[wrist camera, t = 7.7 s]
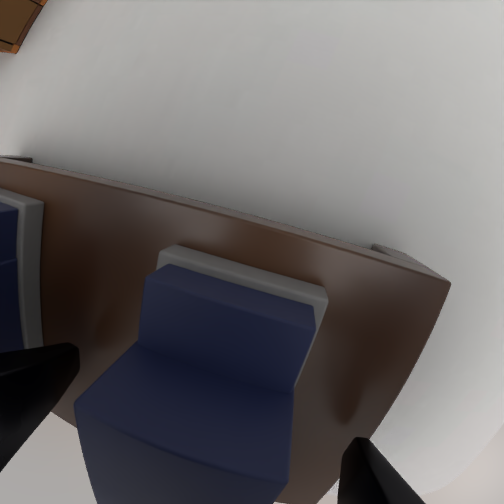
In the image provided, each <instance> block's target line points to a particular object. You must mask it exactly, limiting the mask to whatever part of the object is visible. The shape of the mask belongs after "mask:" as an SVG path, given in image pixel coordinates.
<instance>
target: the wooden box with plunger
mask: <svg viewBox="0 0 504 504" xmlns="http://www.w3.org/2000/svg"><path fill="white" fill-rule="evenodd" d="M46 1H47V0H0V52H7V53H15V54H16V53H17V51H18V49H19V47H20V45H21V43H22V41H23V40H24V38H25V36H26V34H27V32H28V30H29V29H30V27H31V25H32V24H33V22H34V20H35V19H36V17H37V15H38V14H39V12H40V10H41V9H42V7H41V6H44V4H45V3H46Z"/></svg>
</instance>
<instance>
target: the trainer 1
mask: <svg viewBox="0 0 504 504" xmlns="http://www.w3.org/2000/svg"><path fill="white" fill-rule="evenodd" d="M43 212H44V202H43V201H40V200H37V199H34V198H30V197H27V196H24V195H21V194H18V193H15V192H12V191H9V190H5V189H2V188H0V353H2V352H9V351H16V350H23V349H30V348H36V347H42V346H44V344H43V334H42V321H41V302H40V254H41V235H42V223H43Z"/></svg>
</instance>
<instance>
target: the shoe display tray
mask: <svg viewBox="0 0 504 504" xmlns="http://www.w3.org/2000/svg"><path fill="white" fill-rule="evenodd" d="M31 162H32V158H29V157H23V156H12V155H0V188H2V189H5V190H9V191H12V192H15V193H18V194H21V195H24V196H27V197H30V198H34V199H37V200H40V201H43V202H44V212H43V223H42V235H41V254H40V302H41V321H42V334H43V344H44V346H48V345H54V344H60V343H66V342H69V343H72V344H73V345H75V346H77V347H78V348H79V351H80V371H79V373H78V374H77V376H76V377H75V379H74V380H73V382H72V383H71V384H70V386H69V387H68V389H67V390H66V392H65V393H64V395H63V396H62V398H61V399H60V401H59V402H58V403H57V405H56V406H55V407H54V408H53V409H52V410H51V412H53V413H54V414H56V415H57V416H59V417H60V418H62V419H63V420H65V421H66V422H68V423H70V424H71V425H73V426H74V427H76V428H77V425H76V419H75V414H74V407H73V405H74V402H75V400H76V399H77V398H78V397H79V396H80V395H81V394H82V393H83V392H84V391H86V390H87V389H88V388H89V387H90V386H91V385H92V384H93V383H94V382H95V381H96V380H97V379H98V378H99V377H100V376H101V375H102V374H103V373H104V372H105V371H106V370H107V369H108V368H109V367H110V366H111V365H112V364H113V363H114V362H115V361H116V360H117V359H118V358H119V357H120V356H121V355H123V354H124V353H125V352H126V351H127V350H128V349H129V348H130V347H131V346H132V345H133V344H134V343H135V342H136V341H137V340H138V331H139V322H140V312H141V304H142V296H143V288H144V281H145V277H146V276H147V275H149V274H151V273H153V272H154V271H156V268H157V262H158V256H159V252H160V251H161V250H163V249H165V248H168V247H170V246H172V245H175V244H177V245H180V246H183V247H187V248H190V249H193V250H197V251H200V252H204V253H207V254H210V255H214V256H217V257H221V258H224V259H227V260H231V261H234V262H238V263H241V264H245V265H248V266H252V267H255V268H259V269H262V270H266V271H269V272H273V273H276V274H280V275H283V276H287V277H290V278H294V279H297V280H301V281H304V282H308V283H312V284H315V285H319V286H322V287H324V288H325V290H326V293H327V297H328V302H329V303H328V305H327V308H326V311H325V314H324V316H323V319H322V322H321V324H320V327H319V330H318V332H317V335H316V338H315V340H314V343H313V345H312V348H311V350H310V353H309V355H308V358H307V360H306V363H305V365H304V367H303V370H302V372H301V375H300V377H299V379H298V382H297V384H296V386H295V389H294V409H293V428H292V444H291V459H290V473H289V482H288V484H287V485H286V486H285V488H284V489H283V490H282V492H281V493H280V495H279V496H278V497H277V499H276V500H275V501H274V502H279V503H286V504H317V503H318V501H319V500H320V499H321V498H322V497H323V496H324V495H325V494H326V493H327V492H328V491H329V489H330V488H331V487H332V486H333V485H334V484H335V483H336V481H337V480H338V479H339V478H340V471H341V460H342V456H343V453H344V452H345V450H346V449H347V447H348V446H349V444H350V443H351V442H352V440H353V439H354V438H355V437H364V438H368V439H370V438H371V436H372V435H373V433H374V432H375V430H376V429H377V427H378V426H379V425H380V423H381V422H382V420H383V419H384V417H385V415H386V414H387V412H388V411H389V409H390V408H391V406H392V404H393V403H394V401H395V400H396V398H397V396H398V395H399V393H400V391H401V389H402V388H403V386H404V384H405V383H406V381H407V379H408V377H409V375H410V374H411V372H412V370H413V368H414V366H415V364H416V362H417V360H418V359H419V357H420V355H421V353H422V351H423V349H424V347H425V345H426V342H427V340H428V338H429V336H430V334H431V332H432V330H433V327H434V325H435V323H436V321H437V318H438V316H439V314H440V311H441V309H442V307H443V304H444V302H445V299H446V297H447V294H448V292H449V289H450V286H451V282H450V281H448V280H447V279H445V278H444V277H442V276H441V275H439V274H437V273H436V272H434V271H433V270H431V269H429V268H428V267H426V266H425V265H423V264H422V263H420V262H418V261H417V260H415V259H413V258H412V257H410V256H409V255H407V254H405V253H402V252H399V251H396V250H393V249H390V248H387V247H384V246H381V245H378V244H374V245H373V247H372V250H369V249H366V248H363V247H360V246H357V245H353V244H350V243H347V242H343V241H340V240H337V239H334V238H330V237H327V236H323V235H320V234H317V233H313V232H310V231H306V230H303V229H299V228H296V227H293V226H289V225H285V224H282V223H278V222H275V221H271V220H268V219H264V218H260V217H257V216H253V215H250V214H246V213H242V212H238V211H235V210H231V209H227V208H223V207H220V206H216V205H212V204H208V203H204V202H200V201H196V200H192V199H189V198H185V197H181V196H177V195H173V194H168V193H164V192H160V191H156V190H152V189H148V188H144V187H139V186H135V185H131V184H127V183H122V182H118V181H113V180H109V179H105V178H100V177H96V176H91V175H86V174H82V173H77V172H72V171H68V170H63V169H58V168H53V167H48V166H43V165H38V164H33V163H31Z"/></svg>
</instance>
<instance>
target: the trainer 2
mask: <svg viewBox="0 0 504 504" xmlns="http://www.w3.org/2000/svg"><path fill="white" fill-rule="evenodd" d="M328 303H329V302H328V297H327V293H326V290H325V288H324V287H322V286H319V285H315V284H312V283H308V282H304V281H301V280H297V279H294V278H290V277H287V276H283V275H280V274H276V273H273V272H269V271H266V270H262V269H259V268H255V267H252V266H248V265H245V264H241V263H238V262H234V261H231V260H227V259H224V258H221V257H217V256H214V255H210V254H207V253H204V252H200V251H197V250H193V249H190V248H187V247H183V246H180V245H177V244H175V245H172V246H170V247H168V248H165V249H163V250H161V251H160V252H159V256H158V262H157V268H156V271H154V272H153V273H151V274H149V275H147V276H146V277H145V281H144V288H143V296H142V304H141V312H140V322H139V331H138V340H137V341H136V342H135V343H134V344H133V345H132V346H131V347H130V348H129V349H128V350H127V351H126V352H125V353H124V354H123V355H121V356H120V357H119V358H118V359H117V360H116V361H115V362H114V363H113V364H112V365H111V366H110V367H109V368H108V369H107V370H106V371H105V372H104V373H103V374H102V375H101V376H100V377H99V378H98V379H97V380H96V381H95V382H94V383H93V384H92V385H91V386H90V387H89V388H88V389H87V390H86V391H84V392H83V393H82V394H81V395H80V396H79V397H78V398H77V399H76V400H75V402H74V405H73V407H74V414H75V419H76V425H77V430H78V434H79V439H80V444H81V448H82V453H83V457H84V460H85V464H86V468H87V472H88V476H89V479H90V482H91V486H92V489H93V492H94V495H95V498H96V501H97V504H273V503H274V501H275V500H276V499H277V497H278V496H279V495H280V493H281V492H282V490H283V489H284V488H285V486H286V485H287V484H288V482H289V473H290V459H291V444H292V428H293V409H294V389H295V386H296V384H297V382H298V379H299V377H300V375H301V372H302V370H303V367H304V365H305V363H306V360H307V358H308V355H309V353H310V350H311V348H312V345H313V343H314V340H315V338H316V335H317V332H318V330H319V327H320V324H321V322H322V319H323V316H324V314H325V311H326V308H327V305H328Z"/></svg>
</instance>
